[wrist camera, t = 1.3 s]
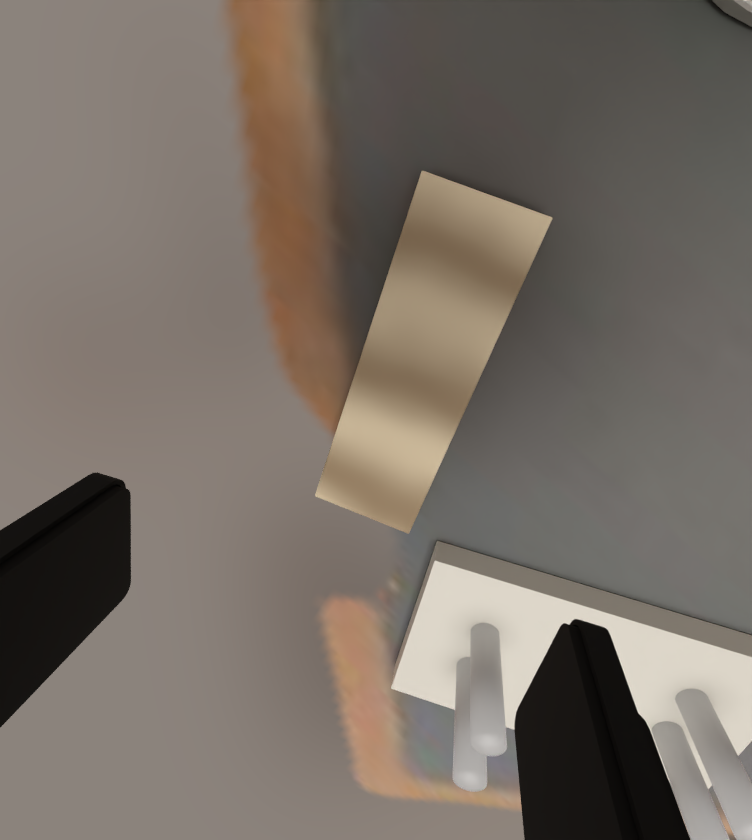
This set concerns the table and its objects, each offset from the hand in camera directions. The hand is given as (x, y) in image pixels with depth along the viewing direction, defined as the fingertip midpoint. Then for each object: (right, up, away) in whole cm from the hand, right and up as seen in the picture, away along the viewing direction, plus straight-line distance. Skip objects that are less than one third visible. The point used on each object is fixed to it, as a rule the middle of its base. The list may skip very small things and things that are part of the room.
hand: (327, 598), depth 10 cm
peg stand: (+14, -12, +22) cm, 29 cm away
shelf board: (+4, +7, +17) cm, 18 cm away
